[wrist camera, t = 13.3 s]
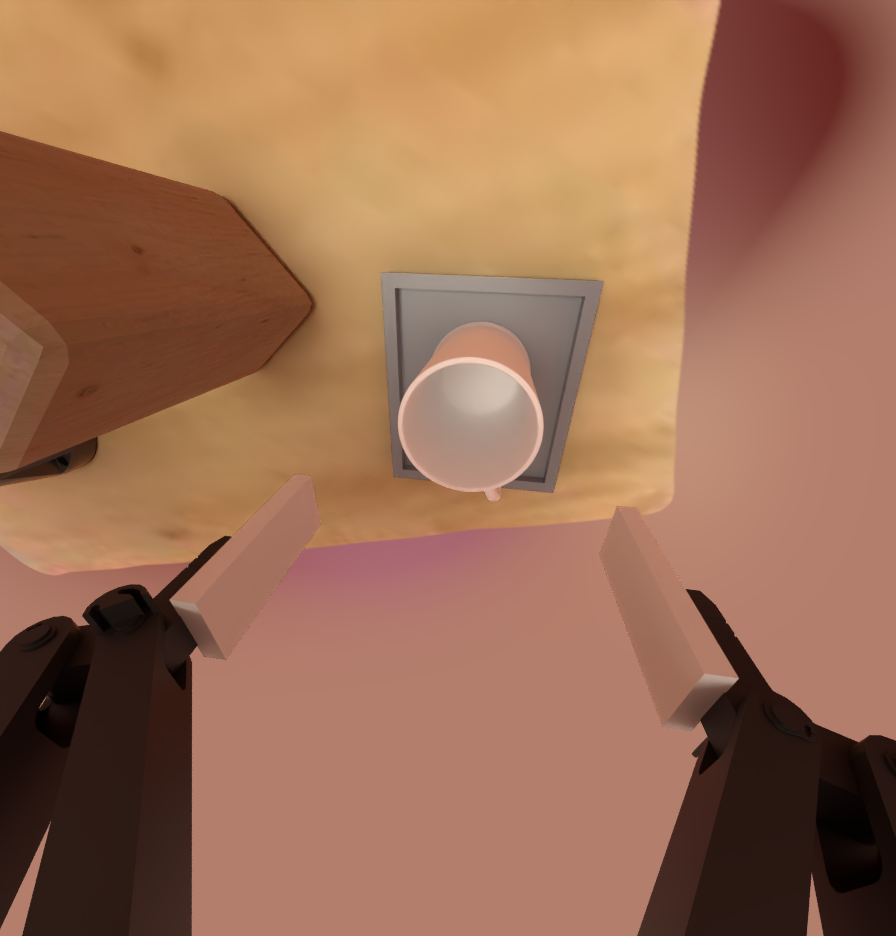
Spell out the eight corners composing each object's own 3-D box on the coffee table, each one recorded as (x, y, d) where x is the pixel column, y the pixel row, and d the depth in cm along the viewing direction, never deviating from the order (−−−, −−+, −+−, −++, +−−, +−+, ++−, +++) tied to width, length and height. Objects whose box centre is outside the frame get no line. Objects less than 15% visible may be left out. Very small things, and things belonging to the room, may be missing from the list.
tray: (397, 468, 35) (393, 476, 34) (387, 272, 26) (380, 272, 25) (550, 482, 34) (553, 493, 32) (597, 280, 25) (603, 281, 23)
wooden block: (321, 304, 28) (45, 351, 11) (257, 375, 32) (-17, 491, 15) (221, 187, 25) (-388, -1, 8) (165, 283, 29) (-318, 297, 12)
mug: (535, 447, 31) (552, 533, 21) (446, 456, 33) (423, 539, 23) (526, 311, 26) (545, 337, 15) (420, 331, 27) (374, 366, 17)
